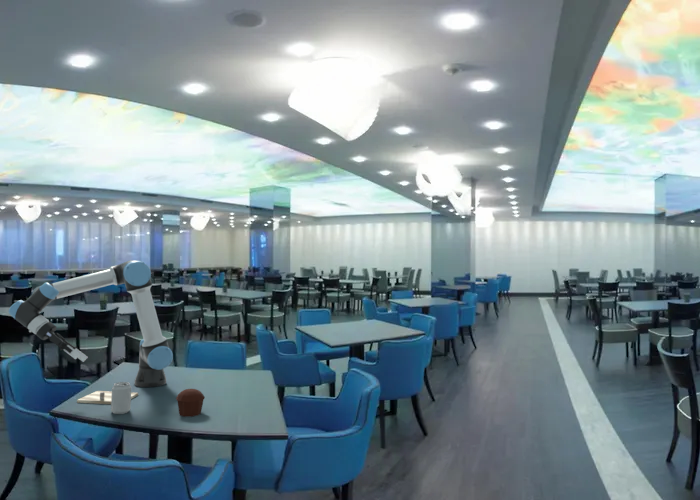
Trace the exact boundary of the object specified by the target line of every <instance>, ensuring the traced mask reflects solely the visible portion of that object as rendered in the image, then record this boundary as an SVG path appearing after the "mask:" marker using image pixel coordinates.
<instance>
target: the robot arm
mask: <svg viewBox="0 0 700 500" xmlns="http://www.w3.org/2000/svg"><path fill="white" fill-rule="evenodd" d="M151 276H152V272H151V268H150V267H149V265H148V264H147V263H145V262H144V261H142V260H137V259H136V260H133V259H131V260H127V261H125V262H123V263H122V262H121V263H120V264H116V265H112V266H110V267H109V268H108V269H105V270H101V271H98V272H97V271H96V272H94V273H93V272H92V273H90V274H89V273H88V274H85V275H81V276H77V277H73V278H69V279H65V280H60V281H57V282H53V283H52V282H51V283H49V282H46V281H45V282H44V283H43V284H42V285H39V286H36V287H35V288H34V289H33V290H32V292H31V295H30V296H29V297H28V298H27V299H26V300H22V299H20V300H17V301H15V302H14V303H13V304H12V305H11V306H10V307H9V309H8V314H9V315H10V316H11V318H13V319H14V320H16V322H18V323H20V324H21V325H22V326H23V327H25V328H26V329H28V332H29V333H33V334H34V335H36V336H37V337H38V338H39V339H40V340H42V341H46V340H49V341H50V342H52V343H53V344H55V345H56V346H58V348H59V351H62V350H63V351H64V352H65V353H66V354H68V355H69V356H71V358H73V359H74V360H77V359H78V360H80V361H81V362H82V363H84V362H85V361H86V360H87V359H88V358H89V357H88V356H87V355H86V354H85V353H83V352H82V351H80V350H79V349H78V346H77V345H76V346H74V345H73V344H72V343H70V342H69V341H67V339H66V338H64V337H63V336H62V335H61V334H60V333H58V332H56V331H57V325H55V324H54V323H53V322H51V321H50V320H49V319H48V318H46V317H45V316H44V315H42V314H40V313H41V312H42V311H43V309H45V308H46V307H47V306H48V305H49V304H50V303H51V302H52V301H54V300H55V301H56V300H58V299H61V298H65V297H66V298H67V297H68V296H73V295H77V294H81V293H85V292H88V291H91V290H96V289H101V288H105V287H107V286H111V285H114V286H119V285H123V284H124V286H125V290H126V292H127V293H129V294H131V297H132V298H131V299H132V302H133V305H134V309H135V313H136V317H137V320H138V323H139V328H140V331H141V336H142V339H141V340H140V342H139V355H138V356H139V357H138V371H137V374H136V375H135V379H134V386H135V387H140V388H155V387H161V386H164V385H165V384H167V376H166V374H165V371H164V370H165V369H166V368H168V367H169V366H170V365H171V364H172V361H173V358H174V354H173V351H172V349H171V348H170V346H169V342H168V338H167V337H165V336H164V335H163V332H162V329H161V326H160V321H159V318H158V315H157V310H156V307H155V303H154V299H153V295H152V292H151V288H152V286H153V283H152V280H151Z"/></svg>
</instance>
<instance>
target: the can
mask: <svg viewBox="0 0 700 500" xmlns="http://www.w3.org/2000/svg"><path fill="white" fill-rule="evenodd" d="M111 391H112V399H111V404H110V412H111V413H113V414H114V415H124V414H128V413H129V412H130V410H131V406H132V405H131V404H132V399H131V392H132V385H131V384H130V382H128V381H120V382H119V381H118V382H114V384H113V386H112V387H111Z"/></svg>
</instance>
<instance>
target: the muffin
mask: <svg viewBox="0 0 700 500" xmlns="http://www.w3.org/2000/svg"><path fill="white" fill-rule="evenodd" d="M204 400H205V396H204V393H203V392H202V391H200V390H198V389H197V388H187V389H185V388H184V389H183V390H182V391H180V392H179V393H178V394H177V395H176V398H175V401H177V407H178V408H177V409H178V414H179V416H180V417H185V418H186V417H188V418H190V417H191V418H192V417H196V416H199V415H201V414H202V411H203V404H204Z"/></svg>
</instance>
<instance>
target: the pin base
mask: <svg viewBox="0 0 700 500" xmlns="http://www.w3.org/2000/svg"><path fill="white" fill-rule="evenodd" d="M138 396H139V392H132V391H131V400H132V399H134V398H136V397H138ZM111 399H112V390H111V391H108V390H96V391H94V392H92V393H89V394H86V395H85V396H83V397H81V398H78V399H77V400H76V403H77V404H95V405H96V404H99V405H111Z"/></svg>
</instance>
